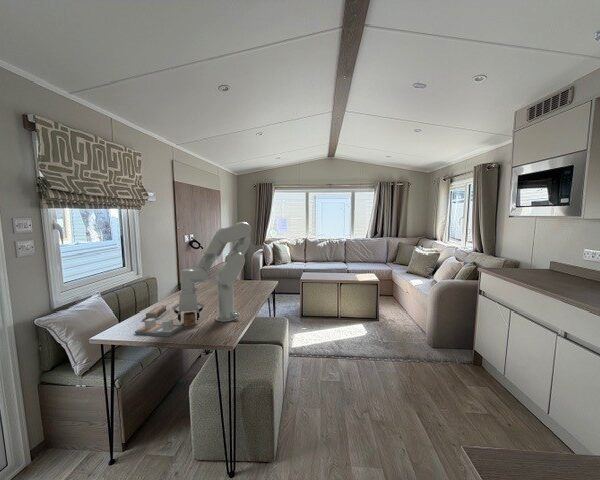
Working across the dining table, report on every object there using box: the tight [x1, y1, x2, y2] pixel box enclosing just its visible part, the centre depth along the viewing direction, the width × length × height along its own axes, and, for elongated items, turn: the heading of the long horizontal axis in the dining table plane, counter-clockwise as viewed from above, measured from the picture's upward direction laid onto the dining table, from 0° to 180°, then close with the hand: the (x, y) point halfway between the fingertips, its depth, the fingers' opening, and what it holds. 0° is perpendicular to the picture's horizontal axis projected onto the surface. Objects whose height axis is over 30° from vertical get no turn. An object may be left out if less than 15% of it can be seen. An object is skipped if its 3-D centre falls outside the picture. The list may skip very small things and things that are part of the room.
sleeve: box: [183, 311, 197, 327], centre depth 169 cm, size 6×6×6 cm
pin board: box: [134, 318, 183, 337], centre depth 159 cm, size 20×12×6 cm, turn 78°
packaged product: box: [142, 304, 171, 321], centre depth 186 cm, size 18×5×10 cm
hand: (188, 320), depth 169 cm, fingers open, 9 cm apart
